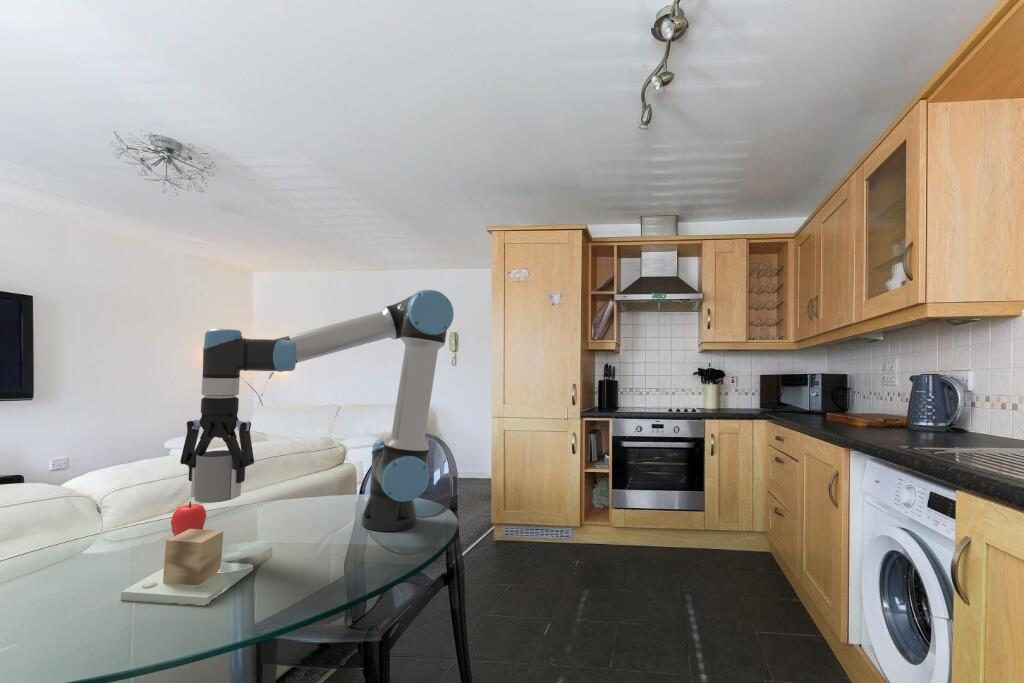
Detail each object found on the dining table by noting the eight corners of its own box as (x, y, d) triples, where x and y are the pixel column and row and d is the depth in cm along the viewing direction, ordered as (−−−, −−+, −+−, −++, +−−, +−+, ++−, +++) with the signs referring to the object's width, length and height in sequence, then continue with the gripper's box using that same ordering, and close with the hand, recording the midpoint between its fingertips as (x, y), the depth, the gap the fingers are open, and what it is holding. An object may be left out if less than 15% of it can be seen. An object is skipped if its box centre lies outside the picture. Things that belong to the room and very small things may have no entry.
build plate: (253, 570, 110) (253, 563, 110) (206, 605, 94) (206, 596, 94) (179, 566, 111) (180, 558, 111) (120, 600, 95) (121, 590, 95)
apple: (195, 539, 127) (198, 506, 127) (161, 539, 126) (164, 505, 126) (212, 529, 135) (214, 498, 135) (180, 528, 134) (182, 497, 134)
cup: (192, 504, 113) (194, 458, 113) (195, 495, 120) (197, 451, 121) (236, 500, 117) (238, 455, 117) (237, 491, 124) (239, 449, 124)
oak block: (220, 570, 106) (223, 530, 106) (198, 585, 99) (201, 542, 99) (187, 568, 106) (190, 528, 107) (162, 582, 99) (166, 540, 100)
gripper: (274, 396, 123) (269, 493, 122) (186, 393, 123) (181, 490, 123) (257, 399, 115) (252, 502, 114) (163, 396, 116) (158, 499, 115)
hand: (215, 496), depth 119 cm, fingers closed on cup, 8 cm apart
